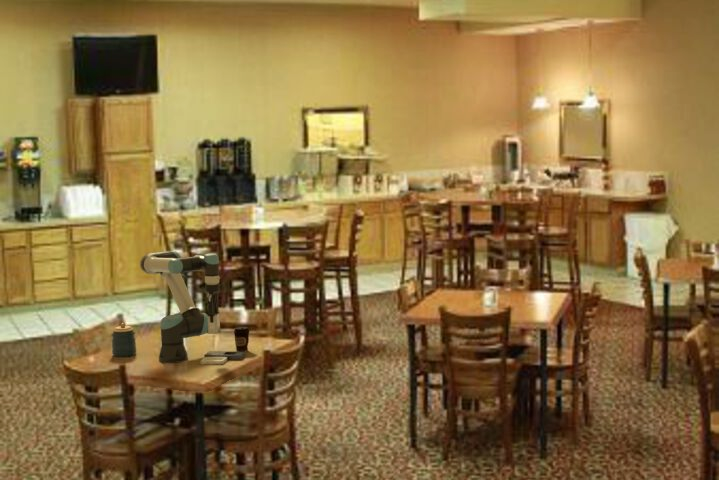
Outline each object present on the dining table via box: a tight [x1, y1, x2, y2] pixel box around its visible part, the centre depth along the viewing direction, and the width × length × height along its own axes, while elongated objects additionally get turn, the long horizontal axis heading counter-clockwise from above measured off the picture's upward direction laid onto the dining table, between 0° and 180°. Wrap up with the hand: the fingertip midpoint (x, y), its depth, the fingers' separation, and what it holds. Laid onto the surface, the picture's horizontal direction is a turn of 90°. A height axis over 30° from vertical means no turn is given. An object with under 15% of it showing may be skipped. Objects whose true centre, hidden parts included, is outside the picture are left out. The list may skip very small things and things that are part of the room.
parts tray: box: [199, 357, 229, 365], centre depth 528 cm, size 12×9×2 cm
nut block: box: [207, 312, 221, 335], centre depth 527 cm, size 5×5×10 cm
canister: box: [110, 322, 137, 358], centre depth 550 cm, size 13×13×18 cm
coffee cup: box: [233, 326, 250, 353], centre depth 551 cm, size 9×8×13 cm
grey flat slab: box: [203, 350, 246, 361], centre depth 537 cm, size 20×9×2 cm, turn 81°
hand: (213, 327), depth 527 cm, fingers closed on nut block, 5 cm apart
